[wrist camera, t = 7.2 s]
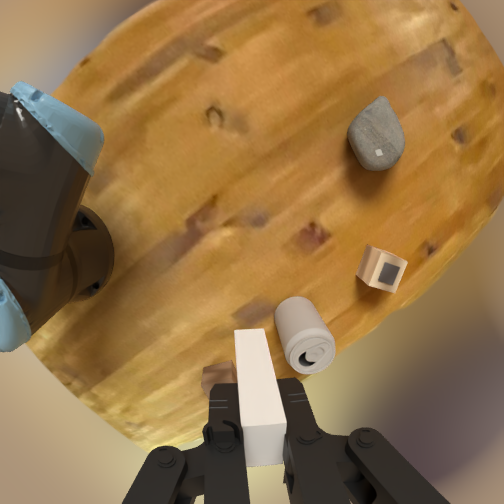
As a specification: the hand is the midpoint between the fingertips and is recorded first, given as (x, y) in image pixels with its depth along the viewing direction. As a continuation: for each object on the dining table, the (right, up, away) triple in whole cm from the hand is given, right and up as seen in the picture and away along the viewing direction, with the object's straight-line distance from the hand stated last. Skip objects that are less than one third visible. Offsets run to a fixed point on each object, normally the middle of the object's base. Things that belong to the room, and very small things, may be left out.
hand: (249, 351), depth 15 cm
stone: (+18, +23, +24) cm, 37 cm away
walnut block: (-5, -16, +32) cm, 36 cm away
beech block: (+19, +3, +28) cm, 34 cm away
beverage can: (+7, -4, +30) cm, 31 cm away
